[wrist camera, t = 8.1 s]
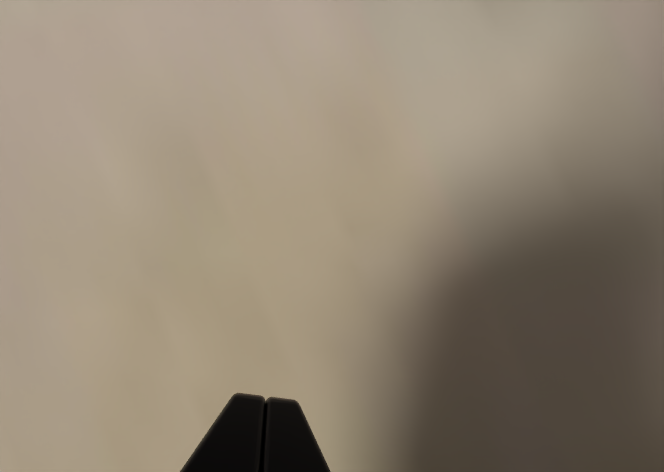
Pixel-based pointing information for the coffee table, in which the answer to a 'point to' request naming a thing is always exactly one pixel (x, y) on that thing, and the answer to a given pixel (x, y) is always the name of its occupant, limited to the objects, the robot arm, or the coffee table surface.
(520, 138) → the coffee table surface
